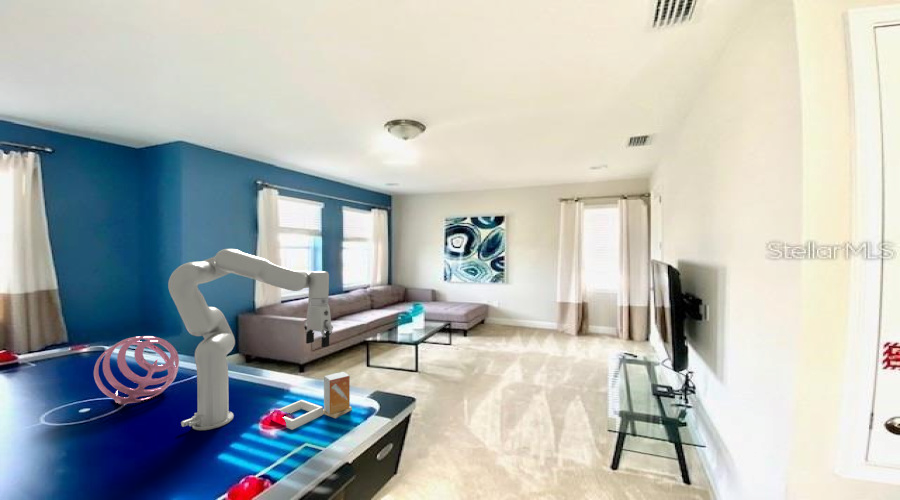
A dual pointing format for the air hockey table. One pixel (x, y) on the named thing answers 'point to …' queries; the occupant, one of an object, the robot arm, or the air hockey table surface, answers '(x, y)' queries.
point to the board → (337, 413)
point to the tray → (312, 414)
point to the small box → (336, 392)
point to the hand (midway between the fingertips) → (317, 344)
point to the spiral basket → (142, 363)
